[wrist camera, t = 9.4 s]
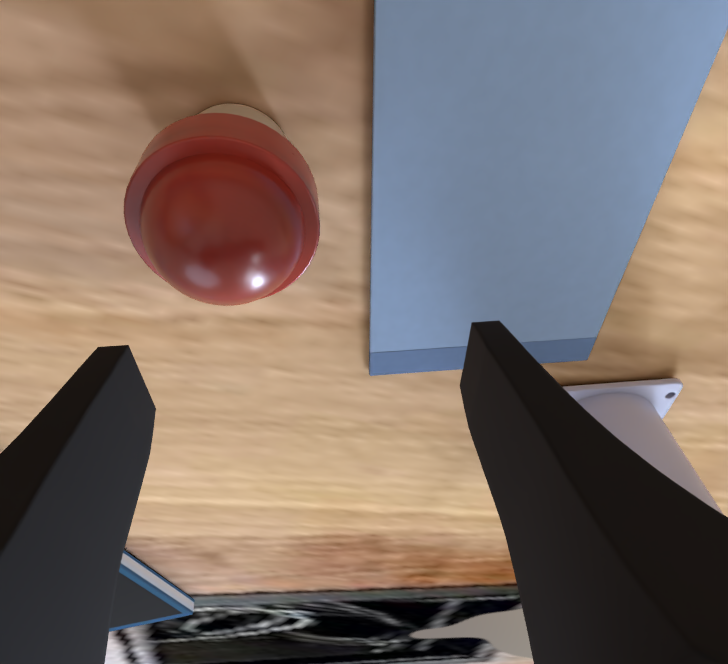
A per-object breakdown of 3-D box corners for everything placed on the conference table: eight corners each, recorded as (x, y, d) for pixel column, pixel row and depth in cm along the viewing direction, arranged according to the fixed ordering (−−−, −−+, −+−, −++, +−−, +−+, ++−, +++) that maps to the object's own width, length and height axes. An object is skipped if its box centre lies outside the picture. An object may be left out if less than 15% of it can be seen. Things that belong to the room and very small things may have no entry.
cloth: (584, 355, 26) (587, 360, 26) (369, 371, 26) (369, 376, 25) (823, -217, 13) (833, -219, 12) (377, -224, 12) (378, -225, 12)
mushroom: (319, 221, 20) (327, 342, 15) (178, 227, 19) (139, 354, 14) (309, 73, 16) (316, 169, 11) (136, 77, 16) (67, 179, 11)
